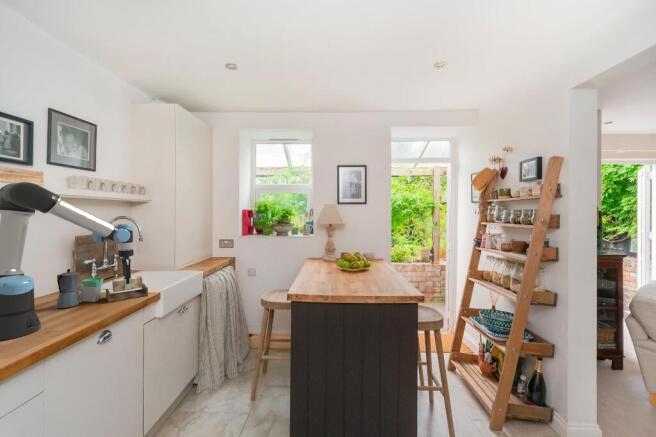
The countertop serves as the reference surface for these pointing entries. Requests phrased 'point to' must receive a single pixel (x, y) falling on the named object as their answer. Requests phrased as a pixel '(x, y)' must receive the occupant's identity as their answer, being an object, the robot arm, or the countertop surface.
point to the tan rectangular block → (120, 284)
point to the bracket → (89, 293)
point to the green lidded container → (93, 282)
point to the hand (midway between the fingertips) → (127, 288)
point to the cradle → (127, 294)
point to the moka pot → (68, 289)
